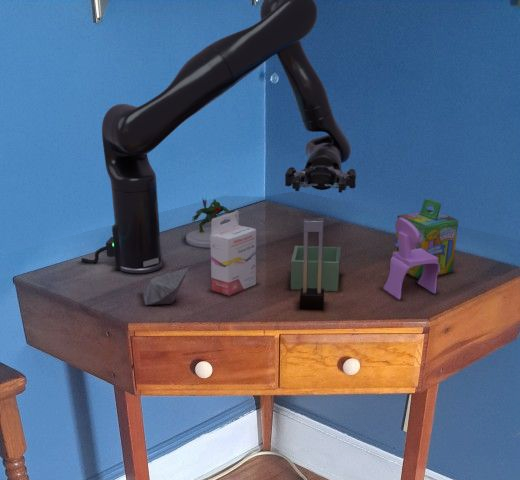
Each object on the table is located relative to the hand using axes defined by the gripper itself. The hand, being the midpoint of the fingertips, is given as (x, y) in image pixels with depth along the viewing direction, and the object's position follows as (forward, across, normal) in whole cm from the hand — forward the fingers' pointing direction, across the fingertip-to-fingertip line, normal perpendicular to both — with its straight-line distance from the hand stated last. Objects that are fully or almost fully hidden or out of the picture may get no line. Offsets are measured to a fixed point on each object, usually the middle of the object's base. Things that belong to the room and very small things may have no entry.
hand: (318, 186), depth 159 cm
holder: (+3, 0, +19) cm, 19 cm away
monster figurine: (-22, -26, +19) cm, 39 cm away
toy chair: (+6, +19, +19) cm, 28 cm away
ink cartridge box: (+8, -16, +19) cm, 26 cm away
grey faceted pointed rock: (+16, -28, +19) cm, 37 cm away
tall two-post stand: (+16, 0, +19) cm, 25 cm away
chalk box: (-6, +22, +19) cm, 30 cm away
